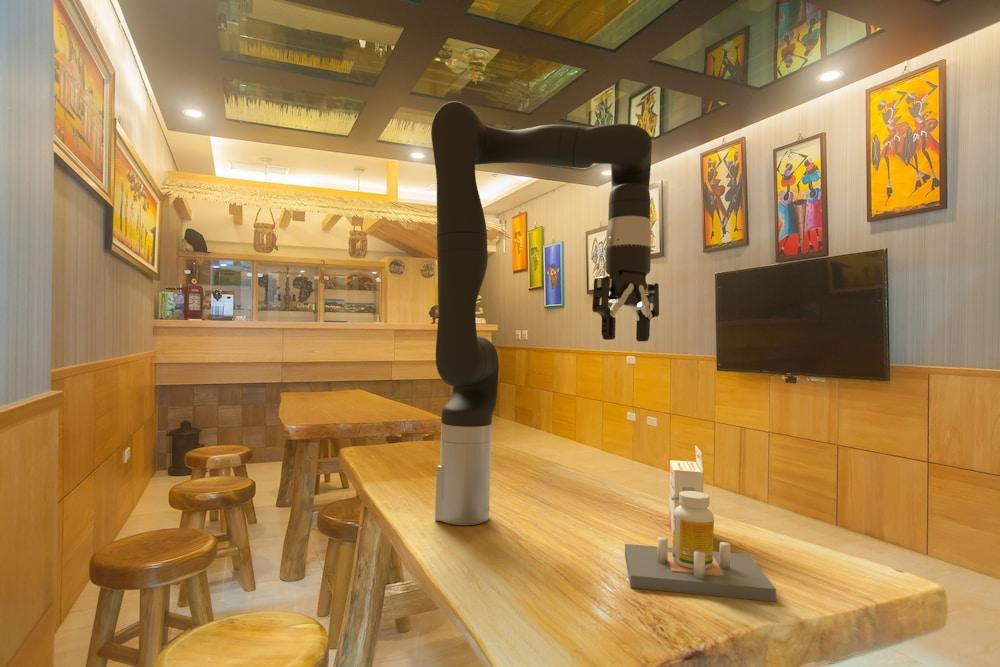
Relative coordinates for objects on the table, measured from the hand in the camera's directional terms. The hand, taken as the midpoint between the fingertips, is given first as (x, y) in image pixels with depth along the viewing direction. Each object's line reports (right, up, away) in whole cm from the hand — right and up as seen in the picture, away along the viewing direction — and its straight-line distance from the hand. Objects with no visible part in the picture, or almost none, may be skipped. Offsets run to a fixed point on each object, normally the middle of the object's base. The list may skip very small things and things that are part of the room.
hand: (626, 340), depth 94 cm
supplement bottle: (+5, -31, -17) cm, 36 cm away
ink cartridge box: (+10, -34, +1) cm, 35 cm away
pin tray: (+5, -33, -17) cm, 37 cm away
